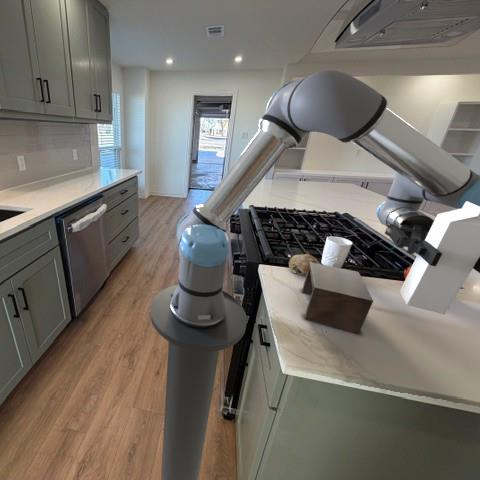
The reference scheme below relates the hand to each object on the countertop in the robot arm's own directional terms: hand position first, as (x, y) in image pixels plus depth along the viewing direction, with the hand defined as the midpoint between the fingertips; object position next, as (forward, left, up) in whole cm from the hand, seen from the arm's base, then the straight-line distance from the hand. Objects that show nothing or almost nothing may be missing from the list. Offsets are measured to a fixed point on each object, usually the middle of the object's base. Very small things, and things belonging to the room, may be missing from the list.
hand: (461, 263), depth 46 cm
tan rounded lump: (-19, +34, -24) cm, 46 cm away
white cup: (-9, +44, -24) cm, 51 cm away
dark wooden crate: (-14, +12, -24) cm, 31 cm away
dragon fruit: (+15, +40, -24) cm, 50 cm away
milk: (0, +5, -12) cm, 13 cm away
